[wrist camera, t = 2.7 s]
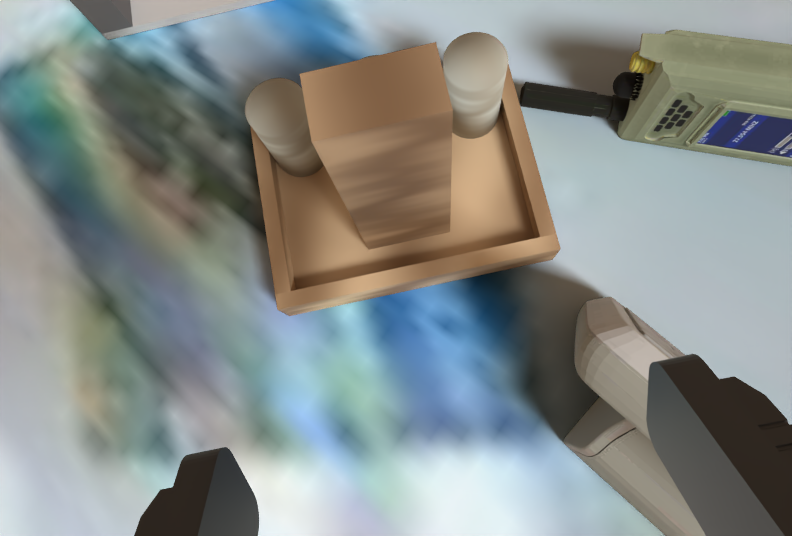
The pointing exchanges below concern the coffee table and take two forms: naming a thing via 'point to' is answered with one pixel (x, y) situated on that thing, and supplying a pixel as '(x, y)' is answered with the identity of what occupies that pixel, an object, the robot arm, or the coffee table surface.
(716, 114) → the handheld radio
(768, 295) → the coffee table surface
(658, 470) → the digital clock
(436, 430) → the coffee table surface
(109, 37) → the grey stool
